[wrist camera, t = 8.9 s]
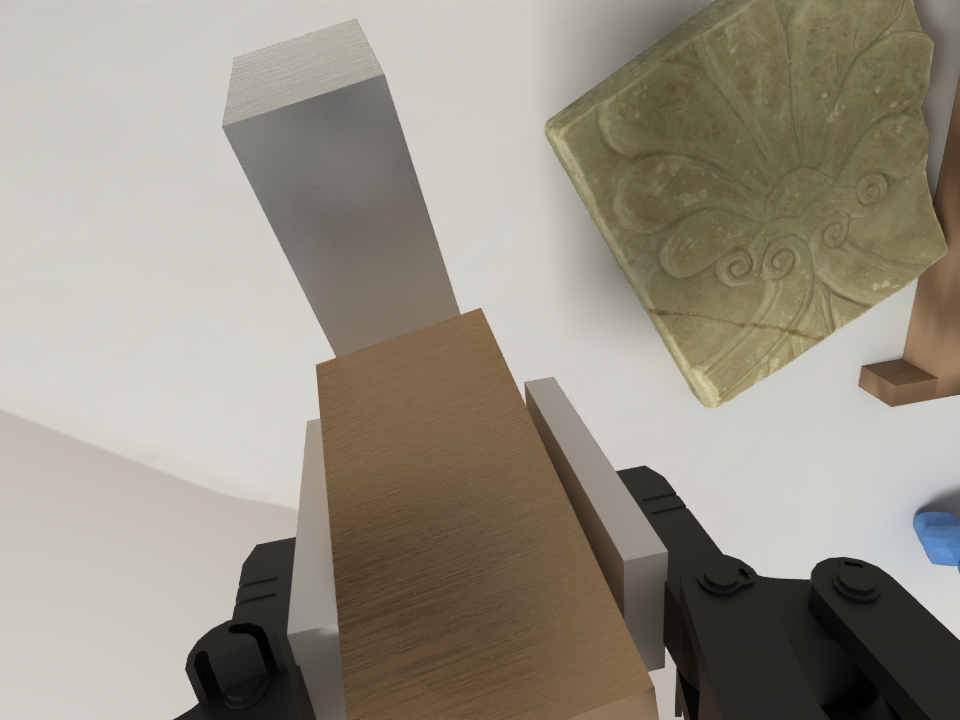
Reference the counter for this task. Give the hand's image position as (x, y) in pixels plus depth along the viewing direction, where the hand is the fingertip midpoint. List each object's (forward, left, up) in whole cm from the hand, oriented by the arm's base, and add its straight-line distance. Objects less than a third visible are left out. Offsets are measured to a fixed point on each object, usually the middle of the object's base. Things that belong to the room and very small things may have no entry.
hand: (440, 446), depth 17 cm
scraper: (-2, 0, -5) cm, 6 cm away
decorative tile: (-1, +21, -21) cm, 30 cm away
